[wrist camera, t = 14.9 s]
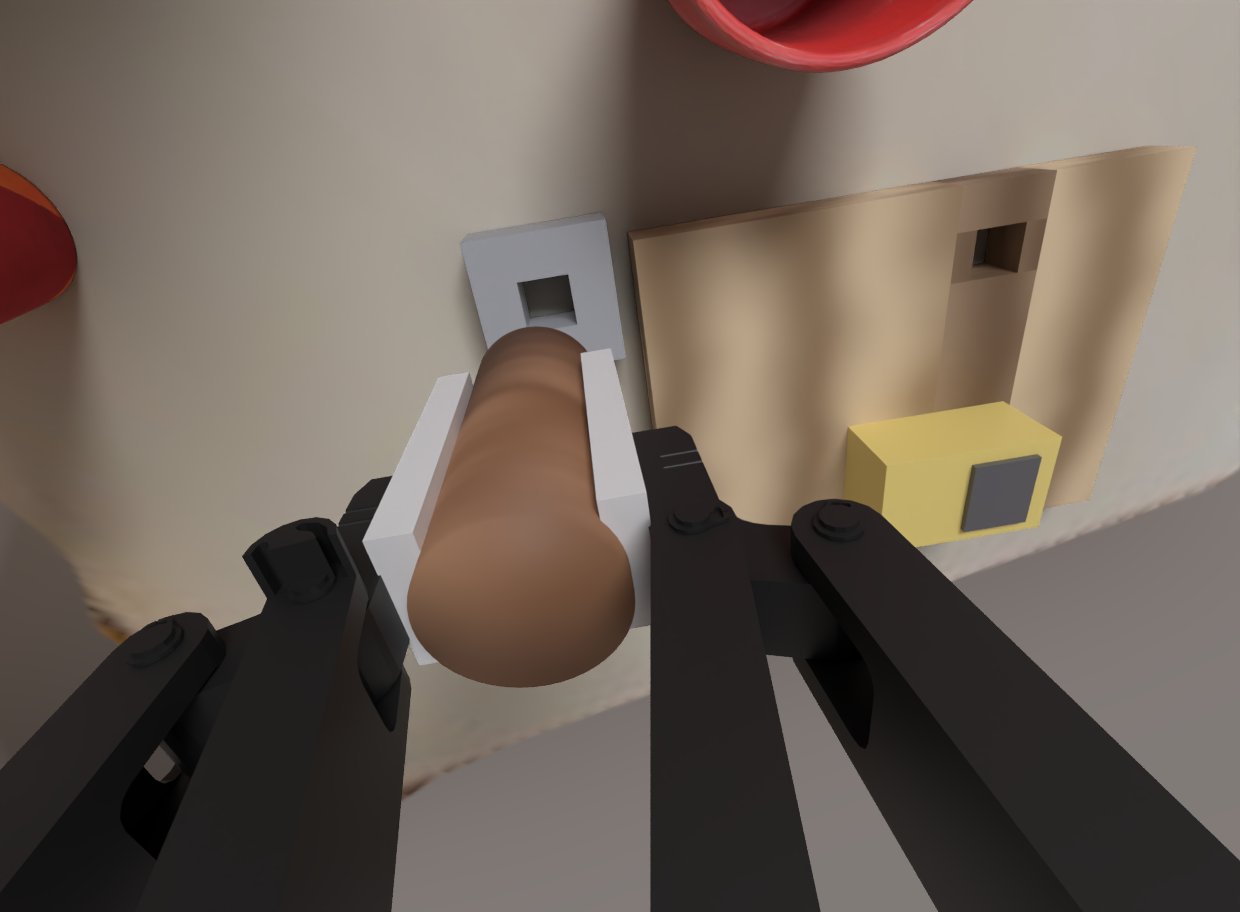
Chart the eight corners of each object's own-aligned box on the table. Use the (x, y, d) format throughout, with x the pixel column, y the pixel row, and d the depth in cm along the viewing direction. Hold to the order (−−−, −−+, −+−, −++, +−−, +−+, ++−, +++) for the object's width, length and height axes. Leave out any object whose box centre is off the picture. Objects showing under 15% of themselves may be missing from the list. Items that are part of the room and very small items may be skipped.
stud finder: (843, 507, 32) (881, 557, 28) (848, 426, 30) (890, 469, 26) (986, 483, 32) (1042, 530, 28) (1003, 401, 30) (1067, 439, 26)
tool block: (500, 362, 29) (495, 380, 27) (467, 234, 26) (459, 243, 24) (621, 342, 29) (625, 358, 27) (601, 212, 26) (605, 219, 24)
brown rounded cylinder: (500, 415, 19) (444, 703, 10) (473, 315, 18) (372, 541, 8) (601, 398, 19) (647, 667, 10) (584, 296, 18) (618, 498, 8)
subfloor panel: (667, 545, 35) (674, 572, 33) (627, 232, 26) (633, 240, 24) (1058, 478, 35) (1089, 500, 33) (1146, 145, 27) (1197, 146, 25)
